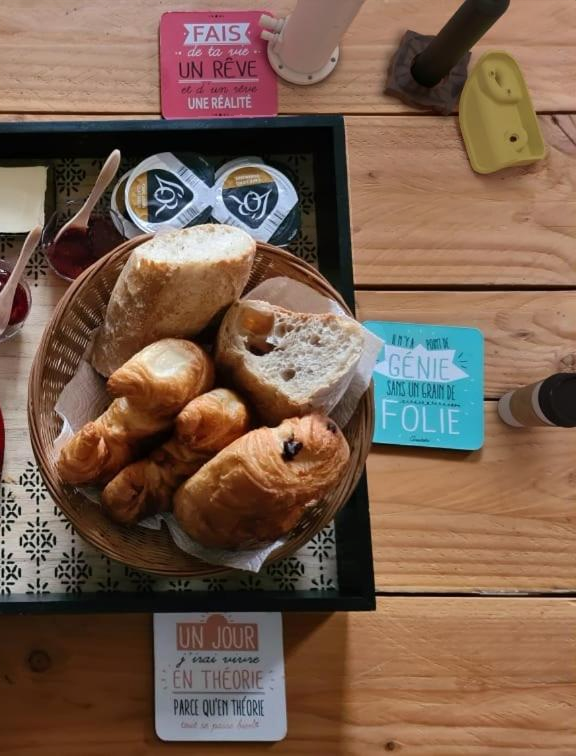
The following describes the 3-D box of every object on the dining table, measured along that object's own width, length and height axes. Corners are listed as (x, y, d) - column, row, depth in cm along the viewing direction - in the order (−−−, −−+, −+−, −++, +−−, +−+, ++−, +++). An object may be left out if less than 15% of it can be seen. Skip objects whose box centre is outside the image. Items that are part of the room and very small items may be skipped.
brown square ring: (378, 95, 130) (383, 89, 128) (400, 31, 132) (405, 24, 130) (449, 121, 130) (455, 115, 128) (470, 56, 132) (476, 50, 130)
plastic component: (549, 158, 126) (516, 160, 122) (507, 175, 133) (475, 178, 128) (517, 50, 128) (483, 48, 123) (477, 73, 134) (444, 72, 129)
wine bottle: (402, 67, 131) (501, -55, 102) (430, 56, 132) (538, -70, 102) (417, 94, 131) (521, -21, 101) (445, 83, 131) (557, -35, 101)
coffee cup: (550, 407, 122) (617, 396, 108) (519, 444, 121) (583, 438, 107) (510, 373, 123) (572, 358, 108) (479, 410, 122) (537, 399, 107)
